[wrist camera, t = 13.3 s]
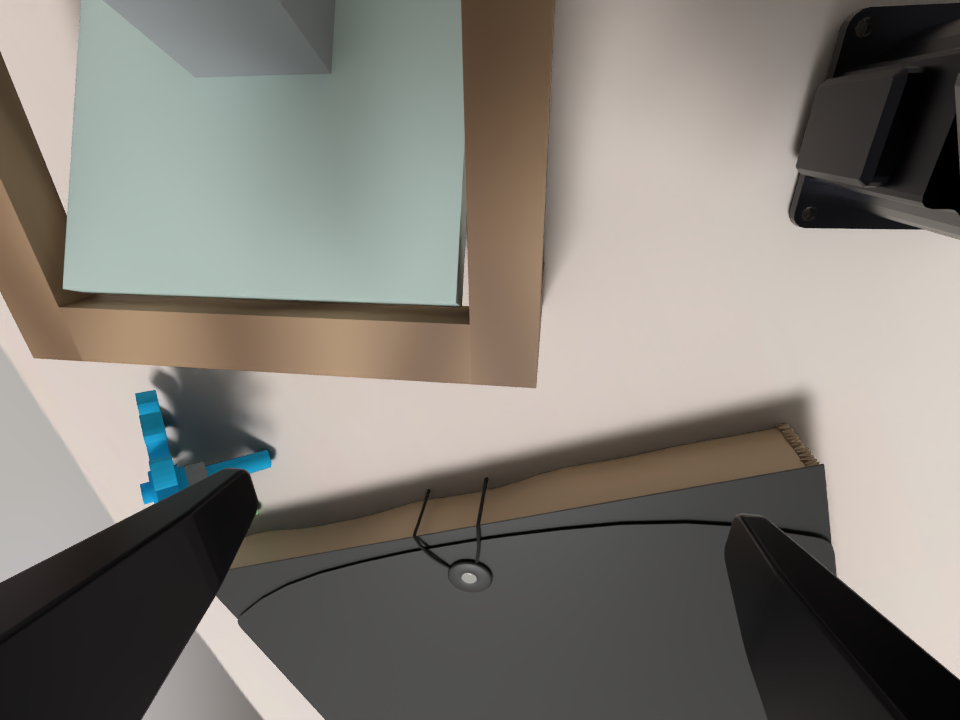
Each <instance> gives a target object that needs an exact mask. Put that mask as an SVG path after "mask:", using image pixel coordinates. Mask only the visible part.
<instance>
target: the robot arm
mask: <svg viewBox="0 0 960 720" xmlns="http://www.w3.org/2000/svg"><path fill="white" fill-rule="evenodd" d="M860 20H864V21H865V22H866V24H867V29H866V31H865V33H864V35H862V36H861V37H858V36H857V35H856V33H855V28H856V26H857V24H858V22H859V21H860ZM796 168H797V169H798V171H799V172H800V176H799V179H798V183H797V187H796V190H795V194H794V197H793V201H792V205H791V208H790V212H789V218H790V220H791V222H792V223H793V224H795V225H797V226H799V227H803V228H844V229H924V230H928V231H932V232H935V233H938V234H942V235H945V236H949V237H952V238H956V239H959V240H960V3H949V4H927V5H906V6H884V7H869V8H865V9H862V10H859V11H856V12H855V13H853V14H852V15H850V16H849V17H848V18H847V19H846V20H845V21H844V23H843V24H842V27H841V29H840V31H839V35H838V39H837V42H836V46H835V50H834V53H833V57H832V60H831V64H830V68H829V71H828V75H827V78H826V80H825V81H824V82H823V83H822V84H821V85H820V86H819V87H818V88H817V90H816V94H815V98H814V101H813V105H812V109H811V112H810V116H809V120H808V123H807V127H806V131H805V134H804V138H803V142H802V145H801V149H800V153H799V156H798V160H797V164H796ZM807 207H811V208H812V213H811V215H810V216H809V217H807V218H805V219H802V212H803V211H804V209H806V208H807ZM257 509H258V498H257V495H256V492H255V489H254V485H253V482H252V479H251V476H250V473H249V472H248V471H247V470H245V469H239V468H224V469H222V470H220V471H218V472H216V473H214V474H212V475H210V476H208V477H206V478H204V479H202V480H200V481H198V482H196V483H194V484H192V485H191V486H189V487H187V488H185V489H183V490H181V491H179V492H177V493H175V494H173V495H171V496H169V497H167V498H165V499H163V500H161V501H159V502H157V503H155V504H153V505H151V506H150V507H148V508H146V509H144V510H142V511H140V512H138V513H136V514H134V515H132V516H130V517H128V518H126V519H124V520H122V521H120V522H118V523H116V524H114V525H112V526H110V527H109V528H107V529H105V530H103V531H101V532H99V533H97V534H95V535H93V536H91V537H89V538H87V539H85V540H83V541H81V542H79V543H77V544H75V545H73V546H71V547H69V548H68V549H65V550H64V551H62V552H60V553H58V554H56V555H54V556H52V557H50V558H48V559H46V560H44V561H42V562H40V563H38V564H36V565H34V566H32V567H30V568H29V569H26V570H25V571H23V572H21V573H19V574H17V575H15V576H13V577H11V578H9V579H7V580H5V581H3V582H1V583H0V720H142V718H143V716H144V715H145V713H146V711H147V710H148V708H149V706H150V705H151V703H152V701H153V700H154V698H155V696H156V695H157V693H158V691H159V690H160V688H161V686H162V685H163V683H164V681H165V680H166V678H167V676H168V675H169V673H170V671H171V670H172V668H173V666H174V665H175V663H176V661H177V660H178V658H179V656H180V655H181V653H182V651H183V649H184V648H185V646H186V644H187V643H188V641H189V639H190V638H191V636H192V634H193V633H194V631H195V629H196V628H197V626H198V624H199V623H200V621H201V619H202V618H203V616H204V614H205V613H206V611H207V609H208V608H209V606H210V604H211V603H212V601H213V599H214V598H215V596H216V594H217V592H218V590H219V589H220V587H221V585H222V583H223V581H224V579H225V577H226V575H227V573H228V571H229V569H230V567H231V565H232V563H233V561H234V559H235V557H236V554H237V552H238V550H239V548H240V546H241V544H242V542H243V540H244V538H245V536H246V534H247V531H248V529H249V527H250V525H251V523H252V521H253V519H254V517H255V515H256V512H257ZM724 559H725V565H726V569H727V573H728V578H729V582H730V587H731V591H732V596H733V600H734V605H735V609H736V614H737V618H738V623H739V627H740V632H741V636H742V640H743V644H744V648H745V652H746V656H747V659H748V662H749V665H750V669H751V672H752V675H753V678H754V681H755V684H756V687H757V690H758V693H759V696H760V699H761V701H762V704H763V707H764V710H765V713H766V716H767V719H768V720H960V679H958V678H957V677H956V676H955V675H954V674H953V673H951V672H950V671H949V670H948V669H947V668H945V667H944V666H943V665H942V664H941V663H939V662H938V661H937V660H936V659H935V658H933V657H932V656H931V655H930V654H929V653H927V652H926V651H925V650H924V649H923V648H921V647H920V646H919V645H918V644H917V643H915V642H914V641H913V640H912V639H911V638H909V637H908V636H907V635H906V634H905V633H903V632H902V631H901V630H900V629H899V628H898V627H896V626H895V625H894V624H893V623H892V622H890V621H889V620H888V619H887V618H886V617H884V616H883V615H882V614H881V613H880V612H878V611H877V610H876V609H875V608H874V607H872V606H871V605H870V604H869V603H868V602H866V601H865V600H864V599H863V598H862V597H860V596H859V595H858V594H857V593H856V592H854V591H853V590H852V589H851V588H850V587H848V586H847V585H846V584H845V583H844V582H843V581H841V580H840V579H839V578H838V577H837V576H835V575H834V574H833V573H832V572H831V571H829V570H828V569H827V568H826V567H825V566H823V565H822V564H821V563H820V562H819V561H817V560H816V559H815V558H814V557H813V556H811V555H810V554H809V553H808V552H807V551H805V550H804V549H803V548H802V547H801V546H799V545H798V544H797V543H796V542H795V541H793V540H792V539H791V538H790V537H789V536H788V535H786V534H785V533H784V532H783V531H782V530H780V529H779V528H778V527H777V526H776V525H774V524H773V523H772V522H771V521H770V520H768V519H767V518H766V517H764V516H761V515H754V514H743V513H740V514H737V515H736V516H735V517H734V519H733V522H732V525H731V528H730V531H729V534H728V537H727V541H726V544H725V548H724Z"/></svg>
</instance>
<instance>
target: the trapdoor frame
mask: <svg viewBox="0 0 960 720" xmlns="http://www.w3.org/2000/svg"><path fill="white" fill-rule="evenodd" d="M554 7H555V0H461V19H462V56H463V93H464V130H465V167H466V204H467V241H468V278H469V306H462V307H439V306H412V305H385V304H358V303H331V302H304V301H277V300H250V299H223V298H197V297H170V296H143V295H116V294H91V293H85V292H79V291H73V290H67V289H63V275H64V259H65V243H66V228H67V215H66V213H65V210H64V208H63V205H62V203H61V200H60V198H59V195H58V193H57V190H56V188H55V186H54V183H53V181H52V178H51V176H50V173H49V171H48V168H47V166H46V163H45V161H44V158H43V156H42V153H41V151H40V149H39V146H38V144H37V141H36V139H35V136H34V134H33V131H32V129H31V126H30V124H29V121H28V119H27V116H26V114H25V112H24V109H23V107H22V104H21V102H20V99H19V97H18V94H17V92H16V89H15V87H14V84H13V82H12V79H11V77H10V75H9V72H8V70H7V67H6V65H5V62H4V60H3V57H2V55H1V52H0V292H1V294H2V296H3V298H4V300H5V302H6V304H7V306H8V308H9V310H10V312H11V314H12V316H13V318H14V320H15V322H16V324H17V326H18V328H19V330H20V332H21V334H22V336H23V338H24V340H25V342H26V344H27V346H28V348H29V350H30V352H31V353H32V355H33V357H34V358H40V359H57V360H74V361H90V362H107V363H124V364H141V365H158V366H174V367H191V368H208V369H225V370H242V371H258V372H275V373H292V374H309V375H325V376H342V377H359V378H376V379H393V380H409V381H426V382H443V383H460V384H477V385H493V386H510V387H527V388H536V383H537V369H538V356H539V342H540V328H541V315H542V298H543V277H544V262H543V243H544V222H545V200H546V179H547V157H548V136H549V114H550V93H551V72H552V50H553V29H554Z"/></svg>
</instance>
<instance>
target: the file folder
mask: <svg viewBox="0 0 960 720" xmlns="http://www.w3.org/2000/svg"><path fill="white" fill-rule="evenodd" d="M775 426H776V428H773V429H768V430H763V431H758V432H752V433H747V434H741V435H736V436H731V437H725V438H719V439H713V440H707V441H701V442H696V443H691V444H686V445H680V446H675V447H671V448H666V449H662V450H657V451H653V452H648V453H644V454H639V455H634V456H630V457H625V458H619V459H613V460H607V461H601V462H595V463H588V464H583V465H578V466H572V467H566V468H561V469H558V470H555V471H551V472H547V473H543V474H539V475H537V476H534V477H531V478H528V479H525V480H522V481H519V482H515V483H512V484H509V485H505V486H502V487H499V488H494V489H489V490H486V488H487V482H488V477H485V479H484V485H483V490H482V491H481V492H476V493H469V494H464V495H458V496H450V497H443V498H436V499H430V500H428V497H429V494H430V491H431V490H430V489H428V490H427V493H426V497H425V500H424V501H420V502H415V503H410V504H407V505H403V506H400V507H397V508H393V509H390V510H387V511H384V512H381V513H377V514H373V515H370V516H366V517H362V518H357V519H352V520H347V521H342V522H337V523H331V524H326V525H322V526H316V527H310V528H301V529H289V530H274V531H266V532H261V533H257V534H253V535H250V536H246V537H245V538H244V540H243V542H242V544H241V546H240V548H239V550H238V552H237V554H236V557H235V559H234V561H233V563H232V565H231V567H230V569H229V571H228V573H227V575H226V577H225V579H224V581H223V583H222V585H221V587H220V589H219V590H218V592H217V594H216V596H217V597H218V599H219V600H220V601H221V602H222V603H223V604H224V605H225V606H226V607H227V608H228V609H229V610H230V611H231V613H232V614H233V615H234V616H235V617H236V618H237V619H238V624H239V626H240V627H241V628H242V630H243V631H244V632H245V633H246V634H247V635H248V636H249V637H250V638H251V639H252V640H253V642H254V643H255V644H256V645H257V646H258V647H259V648H260V649H261V650H262V651H263V652H264V654H265V655H266V656H267V657H268V658H269V659H270V660H271V661H272V662H273V663H274V664H275V665H276V667H277V668H278V669H279V670H280V671H281V672H282V673H283V674H284V675H285V676H286V677H287V679H288V680H289V681H290V682H291V683H292V684H293V685H294V686H295V687H296V688H297V689H298V691H299V692H300V693H301V694H302V695H303V696H304V697H305V698H306V699H307V700H308V701H309V702H310V704H311V705H312V706H313V707H314V708H315V709H316V710H317V711H318V712H319V713H320V714H321V716H322V717H323V718H324V719H325V720H768V719H767V716H766V713H765V710H764V707H763V704H762V701H761V699H760V696H759V693H758V690H757V687H756V684H755V681H754V678H753V675H752V672H751V669H750V665H749V662H748V659H747V656H746V652H745V648H744V644H743V640H742V636H741V632H740V627H739V623H738V618H737V614H736V609H735V605H734V600H733V596H732V591H731V587H730V582H729V578H728V573H727V569H726V565H725V559H724V548H725V544H726V541H727V537H728V534H729V531H730V528H731V525H732V522H733V519H734V517H735V516H736V515H737V514H740V513H743V514H754V515H761V516H764V517H766V518H767V519H768V520H770V521H771V522H772V523H773V524H774V525H776V526H777V527H778V528H779V529H780V530H782V531H783V532H784V533H785V534H786V535H788V536H789V537H790V538H791V539H792V540H793V541H795V542H796V543H797V544H798V545H799V546H801V547H802V548H803V549H804V550H805V551H807V552H808V553H809V554H810V555H811V556H813V557H814V558H815V559H816V560H817V561H819V562H820V563H821V564H822V565H823V566H825V567H826V568H827V569H828V570H829V571H831V572H832V573H833V574H834V575H835V576H837V575H836V565H835V554H834V550H833V547H832V545H831V534H830V523H829V512H828V501H827V490H826V480H825V469H824V464H819V462H817V459H814V456H811V452H810V451H809V448H804V443H802V441H799V438H798V435H796V433H793V428H789V424H776V425H775Z"/></svg>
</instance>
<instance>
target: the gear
mask: <svg viewBox="0 0 960 720" xmlns="http://www.w3.org/2000/svg"><path fill="white" fill-rule="evenodd" d="M135 395H136V401H137V406H138V410H139V414H140V415H139V418H140V423H141V427H142V432H143V437H144V441H145V444H146V446H147V451H148V455H149V460H150V461H149V466H150V470H151V471H148V476H149V481H150V482H147V483H143V484H140V487H141V492H142V497H143V501H144V504H147V503H151V502H154V504H155V503H157V502H159V501H161V500H163V499H165V498H167V497H169V496H171V495H173V494H175V493H177V492H179V491H181V490H183V489H185V488H187V487H189V486H191V485H192V484H194V483H196V482H198V481H200V480H202V479H204V478H206V477H208V476H210V475H212V474H214V473H216V472H218V471H220V470H222V469H224V468H239V469H245V470H247V471H248V472H249V473H252V472H256V471H259V470H263V469H266V468H269V467H271V459H270V456H269V453H268V451H267V450H264V451H260V452H257V453H253V454H249V455H246V456H242V457H238V458H235V459H231V460H227V461H224V462H220V463H216V464H213V465H209V466H205V463H204V461H202V462H198V463H194V464H190V465H187V466H183V467H179V468H178V467H177V464H175V465H173V461H172V456H170V452H169V447H168V443H167V436H166V431H165V427H164V422H163V418H162V414H161V411H160V407H159V403H158V398H157V394H156V391H155V390H153V391H147V392H141V393H136V394H135ZM256 515H258V509H257V512H256Z"/></svg>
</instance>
